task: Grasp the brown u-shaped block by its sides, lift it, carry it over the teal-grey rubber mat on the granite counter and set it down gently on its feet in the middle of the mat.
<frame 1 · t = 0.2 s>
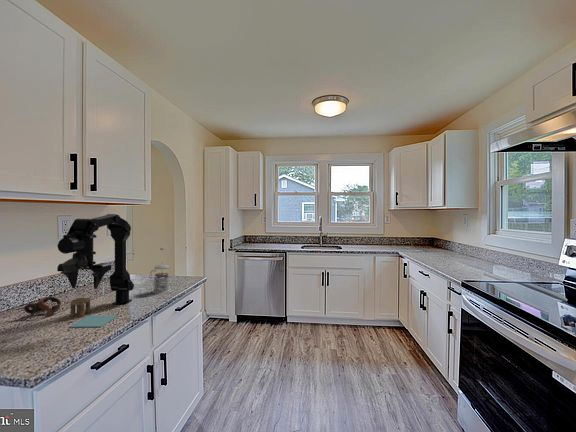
hand: (84, 288, 114), 14 cm above the worktop, fingers open, 9 cm apart
mat: (94, 321, 117), on the worktop
french press: (159, 291, 163), on the worktop
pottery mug: (42, 315, 124), on the worktop
brown u-shaped block: (80, 314, 124), on the worktop
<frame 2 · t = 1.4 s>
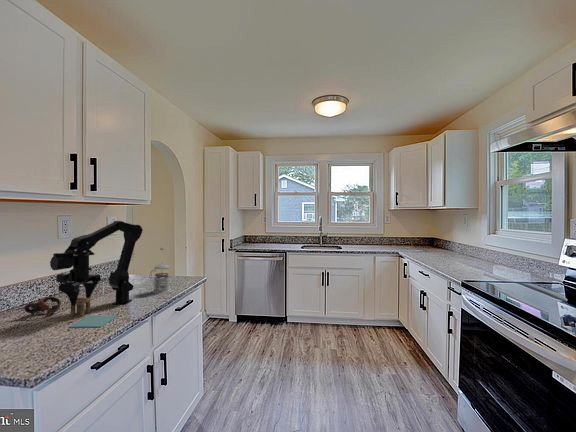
hand: (80, 301, 124), 6 cm above the worktop, fingers open, 9 cm apart
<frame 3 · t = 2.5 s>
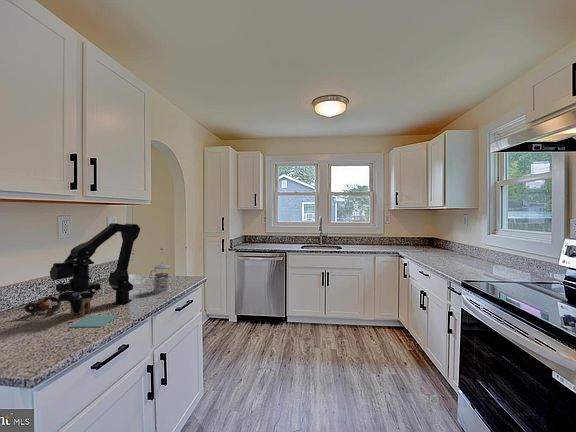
hand: (80, 311, 124), 2 cm above the worktop, fingers closed on brown u-shaped block, 5 cm apart
brown u-shaped block: (80, 314, 124), on the worktop, touching gripper
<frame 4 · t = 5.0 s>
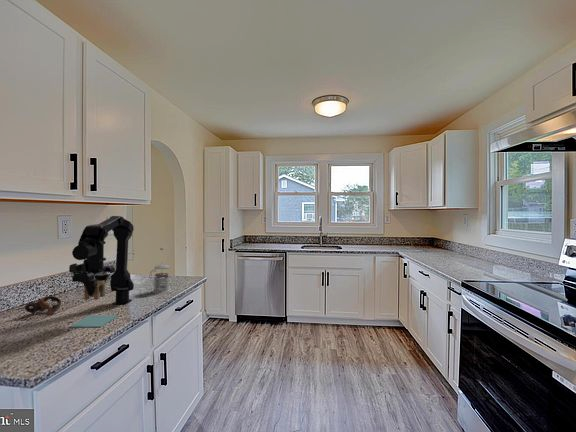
hand: (95, 294, 117), 11 cm above the worktop, fingers closed on brown u-shaped block, 5 cm apart
brown u-shaped block: (94, 297, 117), point 10 cm above the worktop, touching gripper
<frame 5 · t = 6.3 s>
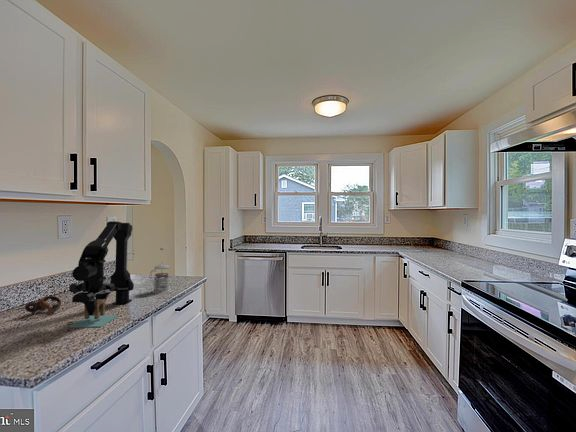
hand: (95, 313, 117), 3 cm above the worktop, fingers closed on brown u-shaped block, 5 cm apart
brown u-shaped block: (94, 316, 117), point 2 cm above the worktop, touching gripper
when the fingers open (3 cm above the worktop, at t = 7.2 s): brown u-shaped block stays where it is, resting on mat.
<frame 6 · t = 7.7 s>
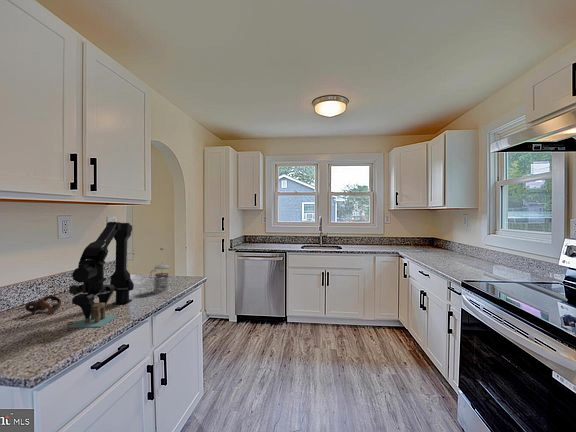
hand: (94, 314, 117), 3 cm above the worktop, fingers open, 9 cm apart
brown u-shaped block: (95, 320, 117), resting on mat
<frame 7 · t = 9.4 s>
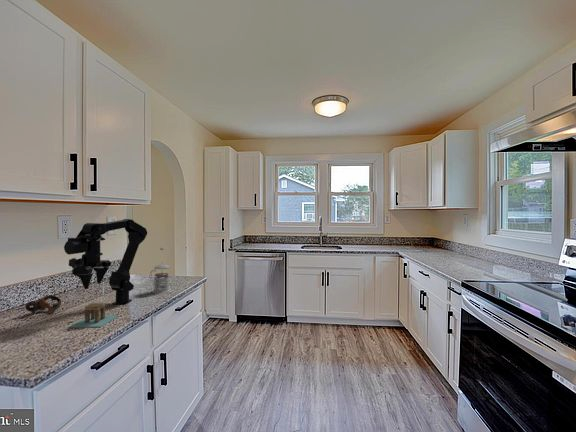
hand: (92, 286, 127), 12 cm above the worktop, fingers open, 9 cm apart
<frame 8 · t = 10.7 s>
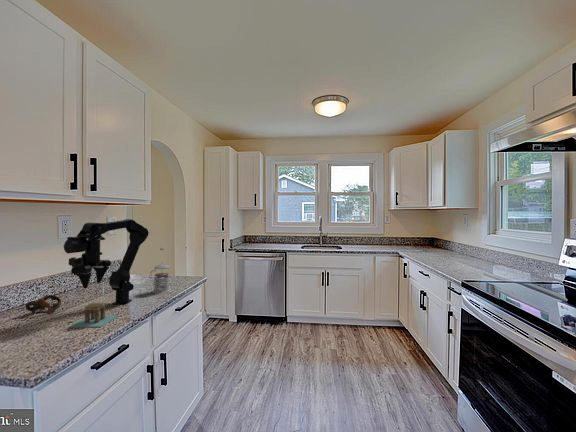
hand: (92, 285, 127), 12 cm above the worktop, fingers open, 9 cm apart
at the end: brown u-shaped block inside the target area on the mat (0.1 cm from its centre), point 0.4 cm above the mat's base; brown u-shaped block tilted 0°; the gripper is holding nothing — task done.
